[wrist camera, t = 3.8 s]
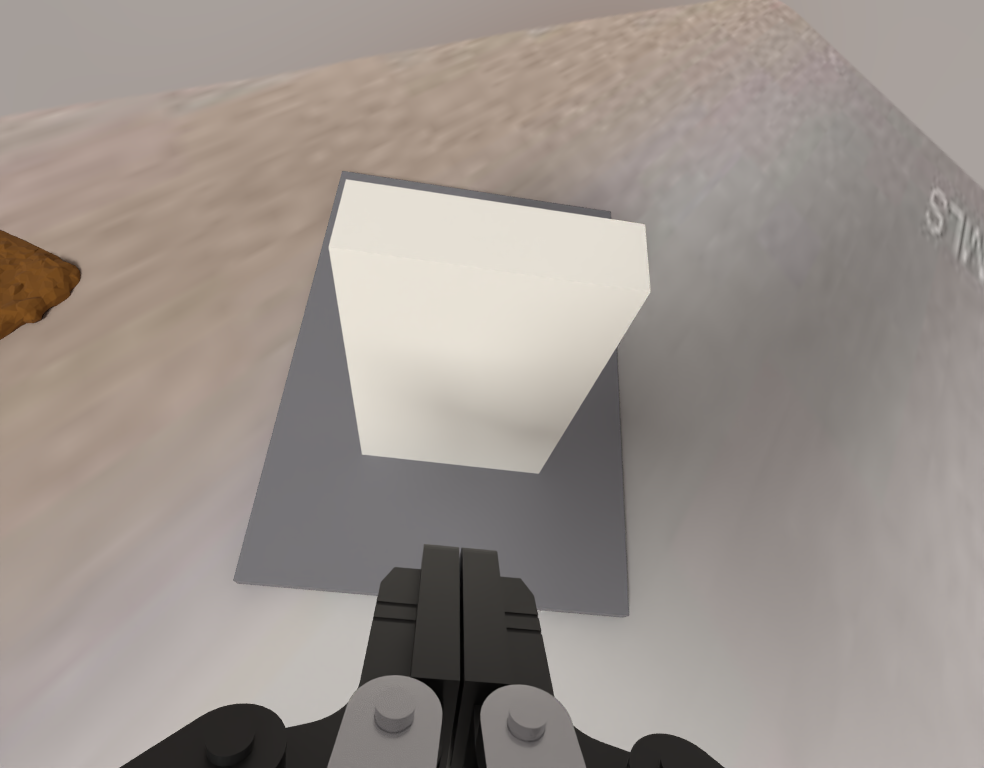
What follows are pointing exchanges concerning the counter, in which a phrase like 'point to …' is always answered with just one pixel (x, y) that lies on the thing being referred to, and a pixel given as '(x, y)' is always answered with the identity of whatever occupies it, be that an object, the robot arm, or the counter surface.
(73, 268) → the primitive tool
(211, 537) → the counter surface
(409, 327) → the cream white block
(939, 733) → the counter surface
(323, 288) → the rubber mat
